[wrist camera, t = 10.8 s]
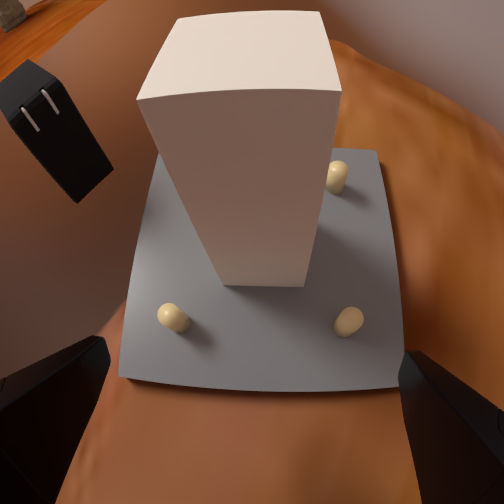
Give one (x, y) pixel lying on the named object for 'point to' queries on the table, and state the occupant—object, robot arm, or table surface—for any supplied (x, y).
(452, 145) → the table surface
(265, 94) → the cream block
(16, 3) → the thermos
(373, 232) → the mount plate
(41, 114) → the electronic device
